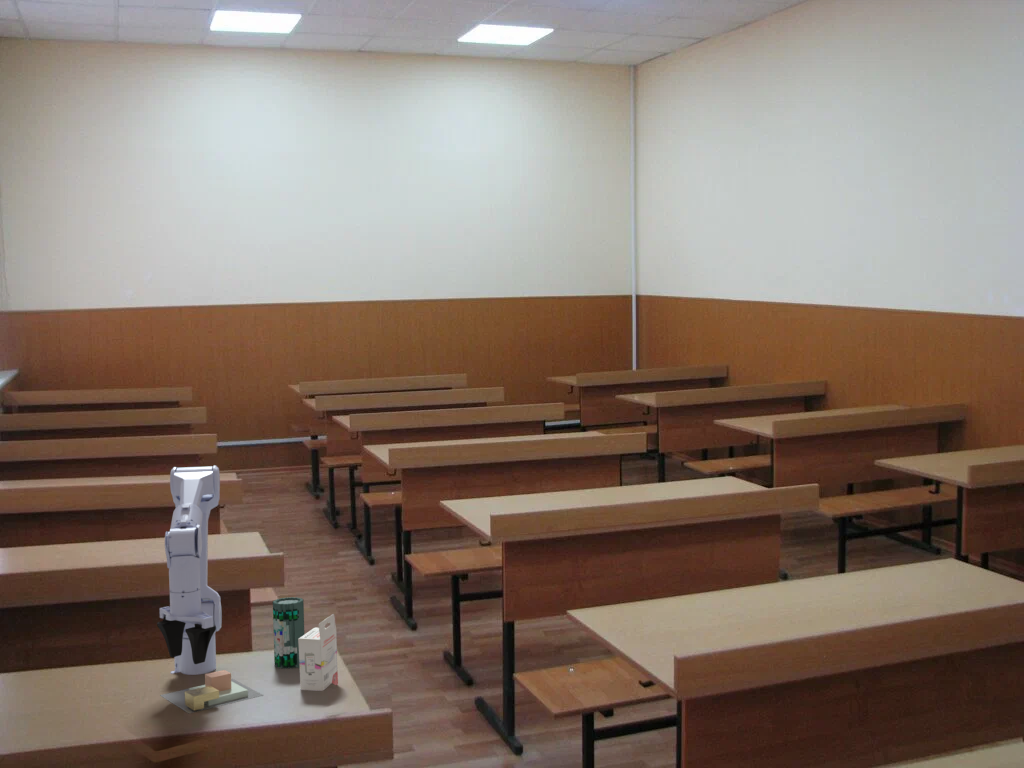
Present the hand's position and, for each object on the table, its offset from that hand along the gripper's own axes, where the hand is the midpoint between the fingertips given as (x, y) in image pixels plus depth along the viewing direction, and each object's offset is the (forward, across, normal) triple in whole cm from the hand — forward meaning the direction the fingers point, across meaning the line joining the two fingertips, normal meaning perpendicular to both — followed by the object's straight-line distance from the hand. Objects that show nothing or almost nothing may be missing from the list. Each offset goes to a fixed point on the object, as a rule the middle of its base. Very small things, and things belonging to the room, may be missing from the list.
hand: (187, 659), depth 208 cm
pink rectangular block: (+7, +5, +4) cm, 9 cm away
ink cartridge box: (+9, +15, +20) cm, 26 cm away
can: (+9, 0, +25) cm, 27 cm away
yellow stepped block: (+7, +7, -2) cm, 10 cm away
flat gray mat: (+9, +3, +3) cm, 10 cm away
